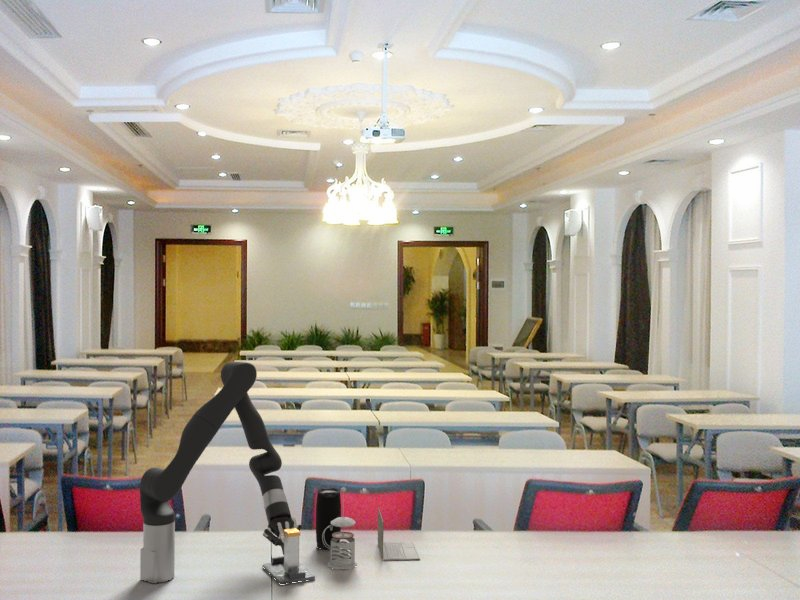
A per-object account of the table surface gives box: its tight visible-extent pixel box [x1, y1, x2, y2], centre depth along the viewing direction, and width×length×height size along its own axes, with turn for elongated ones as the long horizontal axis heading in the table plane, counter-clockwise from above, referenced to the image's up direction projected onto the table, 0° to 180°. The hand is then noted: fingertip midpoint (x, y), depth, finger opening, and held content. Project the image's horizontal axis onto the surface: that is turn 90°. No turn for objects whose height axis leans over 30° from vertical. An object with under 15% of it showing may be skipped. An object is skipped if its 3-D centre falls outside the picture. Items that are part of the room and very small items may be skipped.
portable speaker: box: [315, 487, 342, 550], centre depth 285 cm, size 9×9×20 cm
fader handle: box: [283, 528, 301, 574], centre depth 256 cm, size 4×4×13 cm
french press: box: [322, 487, 358, 570], centre depth 267 cm, size 10×12×25 cm
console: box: [262, 555, 316, 584], centre depth 259 cm, size 17×11×3 cm, turn 27°
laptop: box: [377, 507, 421, 562], centre depth 281 cm, size 18×12×13 cm
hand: (289, 555), depth 258 cm, fingers closed
